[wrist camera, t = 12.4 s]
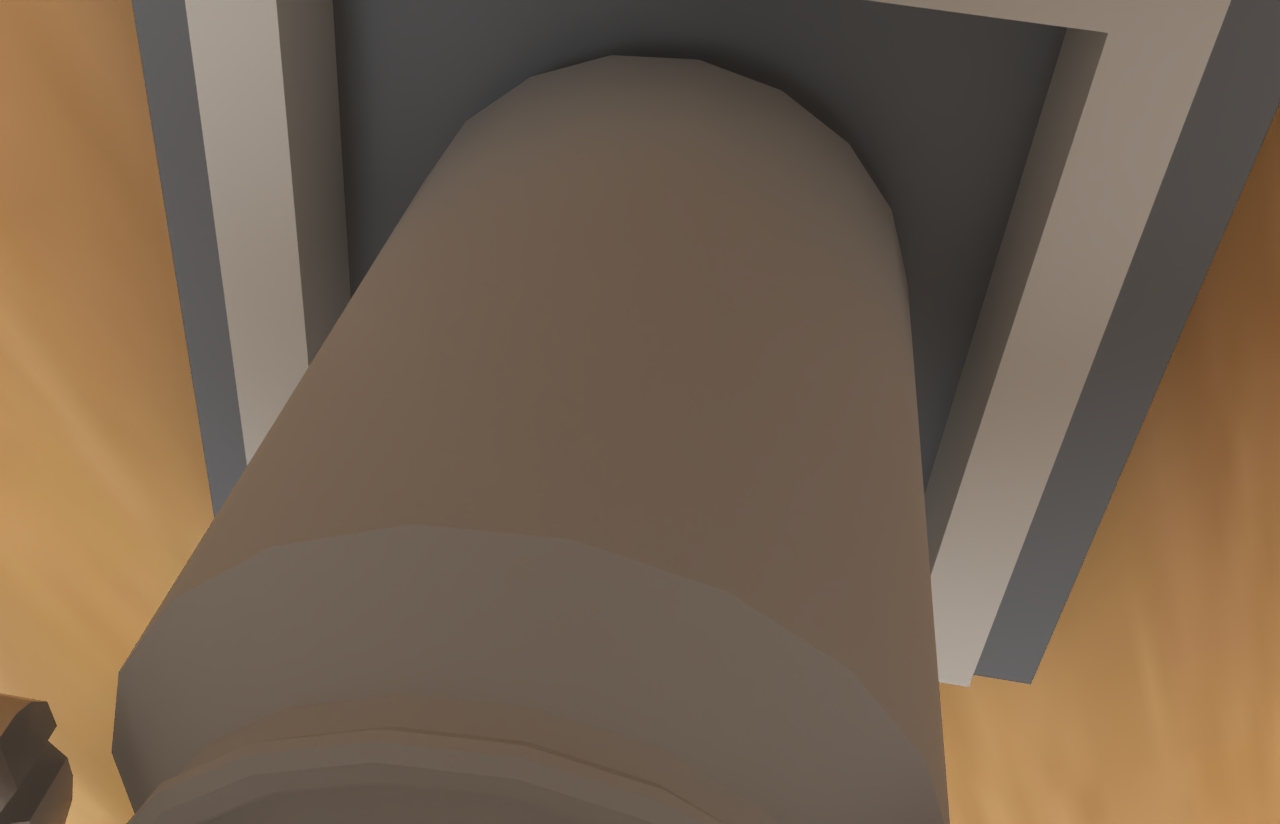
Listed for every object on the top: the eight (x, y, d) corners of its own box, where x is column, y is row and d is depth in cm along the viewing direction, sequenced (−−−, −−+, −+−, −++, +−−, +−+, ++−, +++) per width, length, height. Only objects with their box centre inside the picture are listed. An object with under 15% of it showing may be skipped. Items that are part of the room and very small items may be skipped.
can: (972, 380, 20) (1091, 1215, 10) (566, 503, 22) (357, 1252, 13) (789, -62, 16) (704, 587, 6) (332, 151, 19) (-205, 828, 9)
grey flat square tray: (104, -424, 15) (-31, -410, 13) (1400, -266, 15) (1507, -220, 12) (239, 517, 25) (176, 624, 23) (1025, 645, 24) (1044, 770, 22)
